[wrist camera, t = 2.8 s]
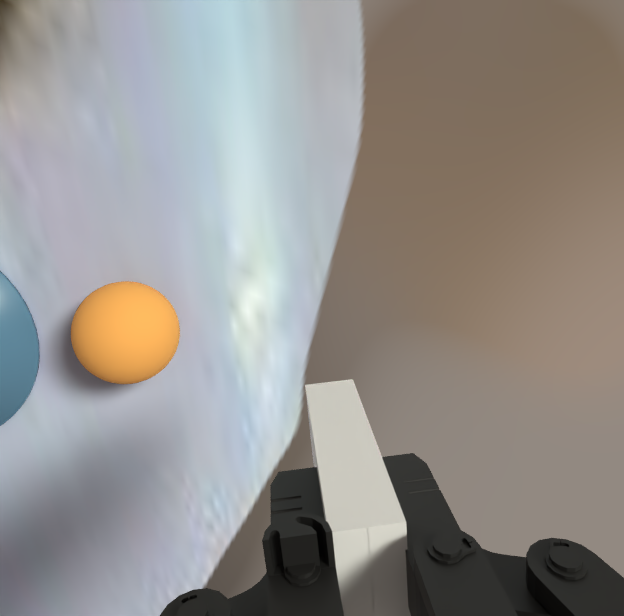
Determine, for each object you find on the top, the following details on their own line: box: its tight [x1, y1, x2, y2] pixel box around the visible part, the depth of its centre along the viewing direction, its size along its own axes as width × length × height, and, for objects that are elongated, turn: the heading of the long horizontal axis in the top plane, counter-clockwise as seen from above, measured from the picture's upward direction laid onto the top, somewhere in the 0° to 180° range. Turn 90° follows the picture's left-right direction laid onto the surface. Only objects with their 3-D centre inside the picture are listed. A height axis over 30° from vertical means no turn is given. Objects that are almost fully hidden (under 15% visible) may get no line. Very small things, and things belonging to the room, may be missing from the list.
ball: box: [71, 281, 180, 384], centre depth 28 cm, size 6×6×6 cm
